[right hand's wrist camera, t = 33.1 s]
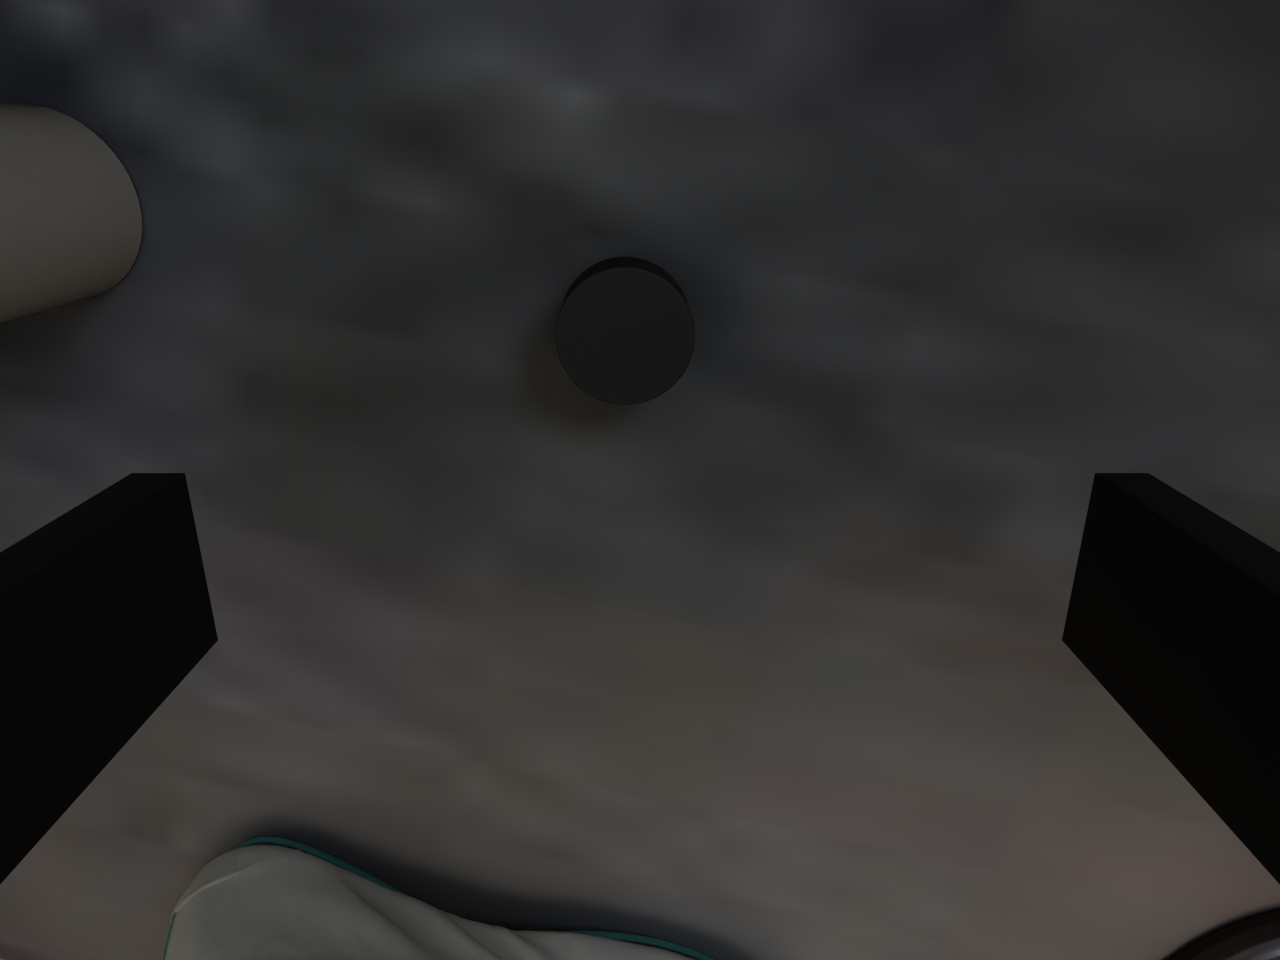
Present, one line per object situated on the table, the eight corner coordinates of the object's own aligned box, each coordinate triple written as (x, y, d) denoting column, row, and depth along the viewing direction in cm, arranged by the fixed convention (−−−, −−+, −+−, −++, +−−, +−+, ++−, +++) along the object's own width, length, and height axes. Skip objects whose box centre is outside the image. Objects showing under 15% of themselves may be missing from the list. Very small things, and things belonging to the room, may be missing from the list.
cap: (540, 348, 26) (532, 367, 24) (596, 232, 24) (593, 241, 22) (652, 404, 26) (654, 427, 24) (712, 294, 25) (719, 308, 23)
